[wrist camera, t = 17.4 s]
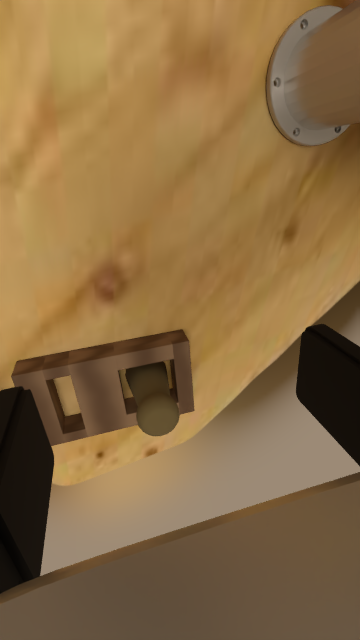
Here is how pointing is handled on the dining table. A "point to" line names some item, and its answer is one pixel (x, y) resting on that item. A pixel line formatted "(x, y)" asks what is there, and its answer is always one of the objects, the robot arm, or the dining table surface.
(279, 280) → the dining table surface
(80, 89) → the dining table surface
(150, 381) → the olive peg
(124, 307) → the dining table surface
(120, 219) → the dining table surface
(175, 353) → the socket board
